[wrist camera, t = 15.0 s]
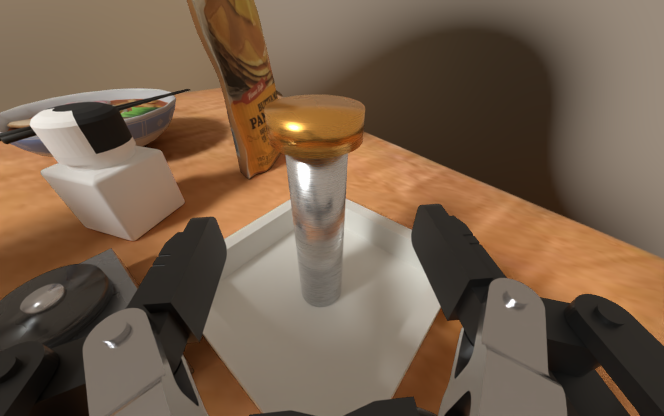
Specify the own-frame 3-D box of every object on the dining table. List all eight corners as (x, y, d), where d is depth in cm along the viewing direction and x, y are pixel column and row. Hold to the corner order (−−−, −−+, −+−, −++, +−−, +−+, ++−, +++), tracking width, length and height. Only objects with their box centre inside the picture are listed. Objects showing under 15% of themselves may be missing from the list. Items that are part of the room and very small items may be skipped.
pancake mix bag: (214, 183, 34) (91, -170, 17) (263, 131, 49) (224, -84, 32) (261, 186, 33) (183, -178, 16) (296, 133, 48) (275, -86, 31)
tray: (179, 304, 20) (160, 277, 18) (316, 209, 29) (315, 184, 27) (333, 507, 12) (332, 504, 9) (454, 283, 21) (467, 256, 19)
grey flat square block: (-121, 399, 15) (-214, 374, 12) (126, 267, 23) (100, 234, 20) (-188, 708, 8) (-418, 788, 6) (194, 371, 16) (168, 342, 14)
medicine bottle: (142, 192, 32) (86, 94, 25) (187, 203, 30) (140, 99, 23) (84, 228, 27) (-10, 116, 19) (134, 243, 25) (51, 125, 18)
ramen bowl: (143, 119, 55) (124, 78, 50) (222, 134, 48) (209, 88, 43) (-17, 170, 37) (-72, 114, 32) (71, 208, 30) (18, 143, 25)
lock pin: (280, 291, 20) (243, 107, 11) (319, 257, 22) (313, 90, 14) (323, 329, 17) (317, 131, 9) (361, 286, 20) (384, 105, 12)
